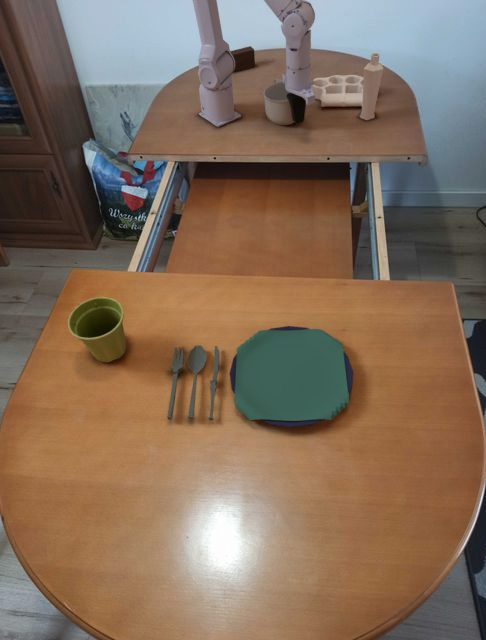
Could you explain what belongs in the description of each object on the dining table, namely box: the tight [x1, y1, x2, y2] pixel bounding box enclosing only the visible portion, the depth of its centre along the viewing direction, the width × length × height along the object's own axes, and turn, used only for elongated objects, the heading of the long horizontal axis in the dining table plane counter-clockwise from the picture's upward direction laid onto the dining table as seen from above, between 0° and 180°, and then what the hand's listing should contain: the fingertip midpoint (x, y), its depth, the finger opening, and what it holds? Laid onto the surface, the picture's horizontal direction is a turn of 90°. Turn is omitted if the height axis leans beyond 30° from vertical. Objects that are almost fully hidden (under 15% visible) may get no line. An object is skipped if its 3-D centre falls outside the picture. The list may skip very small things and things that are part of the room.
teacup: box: [263, 77, 295, 126], centre depth 131 cm, size 14×11×8 cm
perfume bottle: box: [359, 52, 385, 121], centre depth 125 cm, size 5×4×15 cm
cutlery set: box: [166, 325, 354, 429], centre depth 81 cm, size 20×30×2 cm, turn 87°
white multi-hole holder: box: [311, 74, 364, 108], centre depth 137 cm, size 3×18×15 cm
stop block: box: [230, 45, 256, 74], centre depth 152 cm, size 3×10×5 cm, turn 111°
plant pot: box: [67, 296, 128, 363], centre depth 85 cm, size 9×9×9 cm
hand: (298, 121), depth 127 cm, fingers closed
